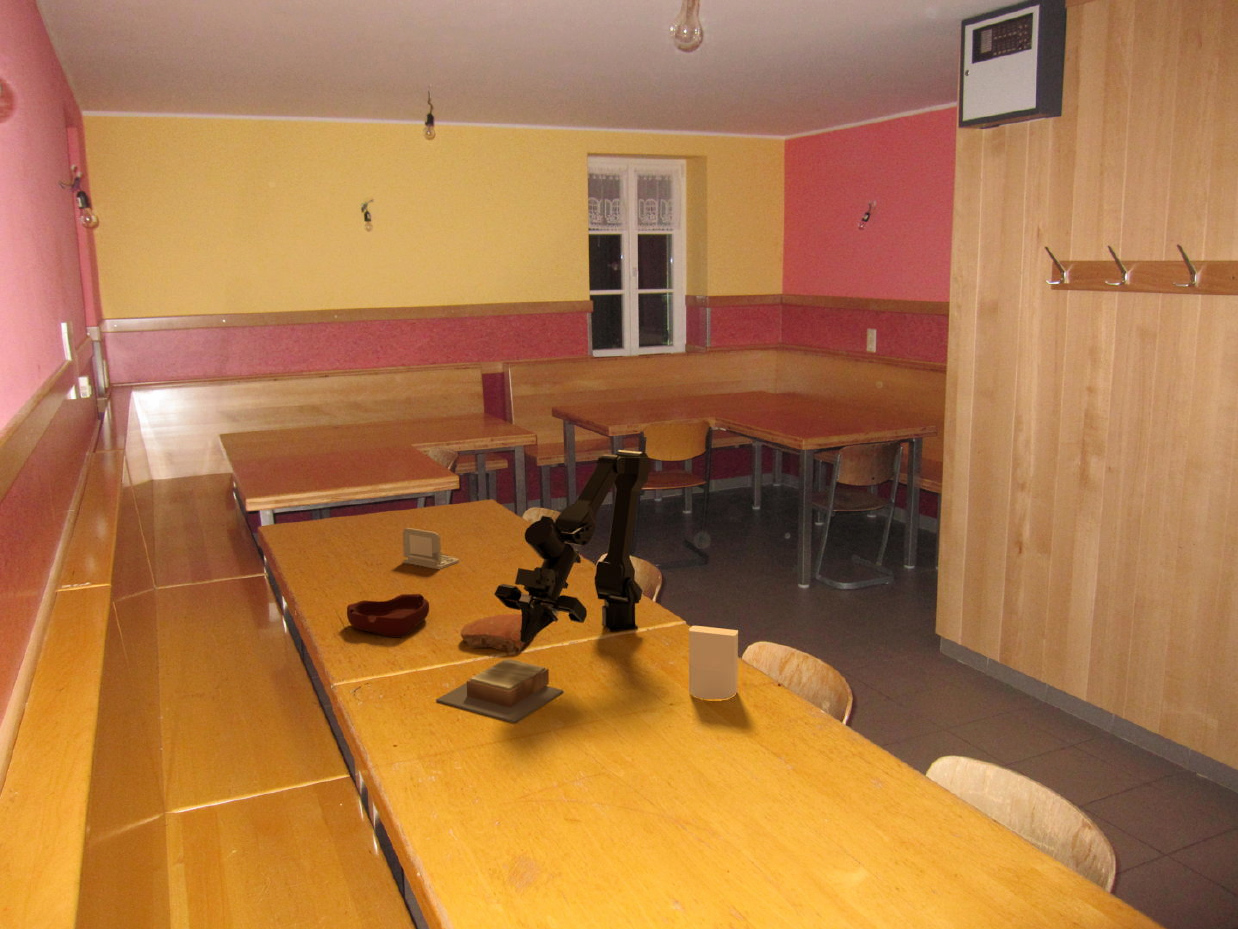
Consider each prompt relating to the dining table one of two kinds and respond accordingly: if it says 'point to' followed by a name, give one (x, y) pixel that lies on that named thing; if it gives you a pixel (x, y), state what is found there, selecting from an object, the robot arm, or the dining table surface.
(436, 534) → the handheld gaming console
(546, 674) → the brown wooden block
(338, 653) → the dining table surface
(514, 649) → the ceramic shard
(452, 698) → the charcoal rubber mat
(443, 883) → the dining table surface
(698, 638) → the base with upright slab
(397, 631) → the ashtray
